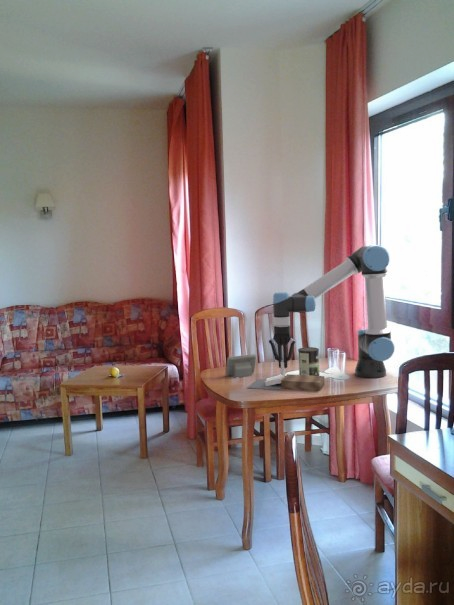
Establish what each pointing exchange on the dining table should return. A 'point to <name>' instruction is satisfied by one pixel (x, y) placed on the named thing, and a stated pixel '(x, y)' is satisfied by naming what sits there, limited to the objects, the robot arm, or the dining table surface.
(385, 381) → the dining table surface
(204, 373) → the dining table surface
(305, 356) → the coffee can
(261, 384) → the mat
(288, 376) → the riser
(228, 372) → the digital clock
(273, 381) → the coaster
